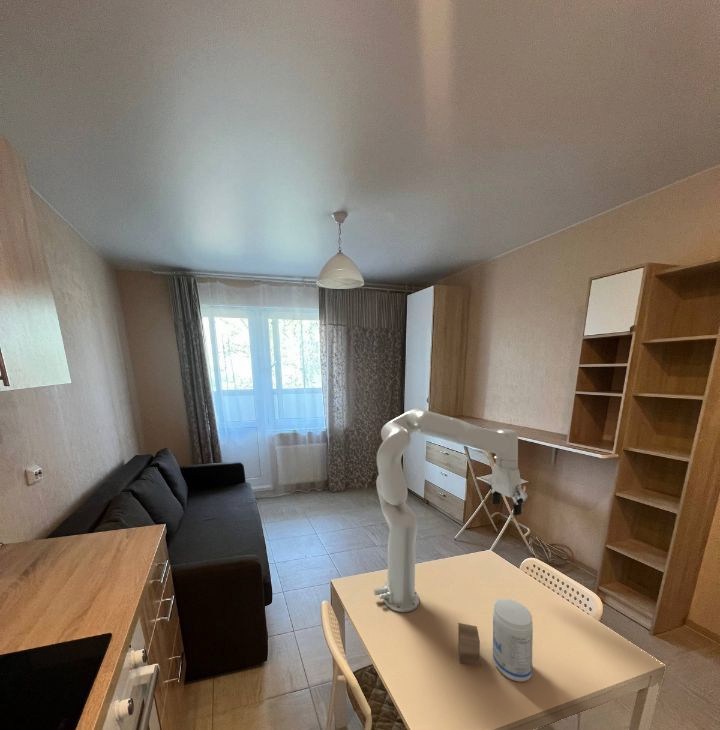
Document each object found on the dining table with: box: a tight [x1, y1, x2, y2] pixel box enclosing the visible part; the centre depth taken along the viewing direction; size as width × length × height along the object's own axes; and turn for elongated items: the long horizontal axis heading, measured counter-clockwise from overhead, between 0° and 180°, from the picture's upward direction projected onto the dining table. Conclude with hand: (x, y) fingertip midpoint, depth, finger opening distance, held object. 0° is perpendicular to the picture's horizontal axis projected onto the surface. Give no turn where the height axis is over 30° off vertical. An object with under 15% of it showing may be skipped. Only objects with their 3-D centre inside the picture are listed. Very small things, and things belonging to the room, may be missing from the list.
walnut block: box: [457, 622, 481, 669], centre depth 85 cm, size 5×5×7 cm
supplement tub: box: [492, 598, 534, 683], centre depth 82 cm, size 10×10×15 cm
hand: (506, 509), depth 114 cm, fingers open, 9 cm apart
